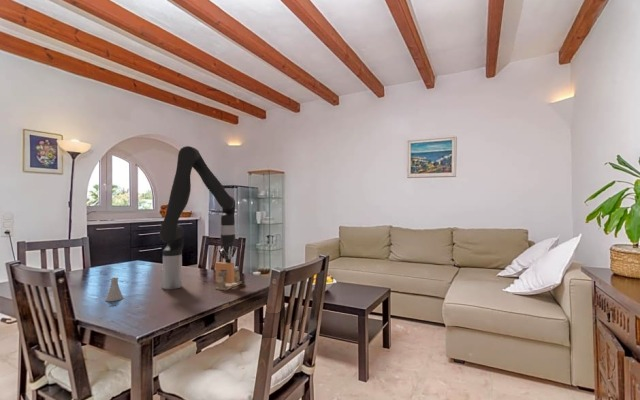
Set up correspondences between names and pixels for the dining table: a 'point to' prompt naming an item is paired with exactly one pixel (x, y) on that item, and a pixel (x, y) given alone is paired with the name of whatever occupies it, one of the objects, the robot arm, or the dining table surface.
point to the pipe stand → (222, 280)
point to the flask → (114, 291)
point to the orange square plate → (229, 271)
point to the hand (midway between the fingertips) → (228, 265)
